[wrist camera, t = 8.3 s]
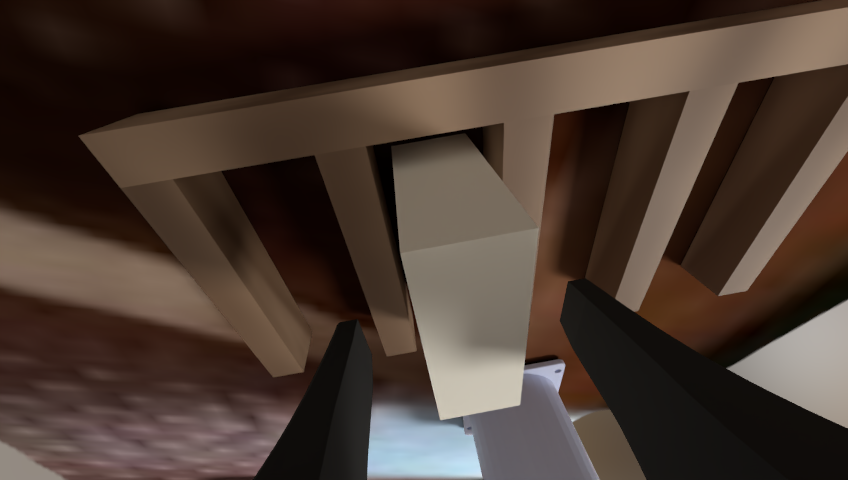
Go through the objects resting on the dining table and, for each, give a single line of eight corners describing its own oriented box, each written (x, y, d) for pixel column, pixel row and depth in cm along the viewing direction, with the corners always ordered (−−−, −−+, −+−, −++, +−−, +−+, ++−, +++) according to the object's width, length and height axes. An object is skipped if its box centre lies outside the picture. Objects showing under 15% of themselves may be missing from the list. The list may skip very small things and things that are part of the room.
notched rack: (855, -6, 11) (965, -13, 9) (706, 261, 18) (746, 290, 16) (137, 113, 10) (78, 135, 8) (285, 337, 18) (273, 377, 16)
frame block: (473, 277, 17) (520, 405, 11) (420, 286, 17) (440, 420, 11) (464, 132, 12) (539, 228, 6) (390, 145, 12) (399, 253, 6)
